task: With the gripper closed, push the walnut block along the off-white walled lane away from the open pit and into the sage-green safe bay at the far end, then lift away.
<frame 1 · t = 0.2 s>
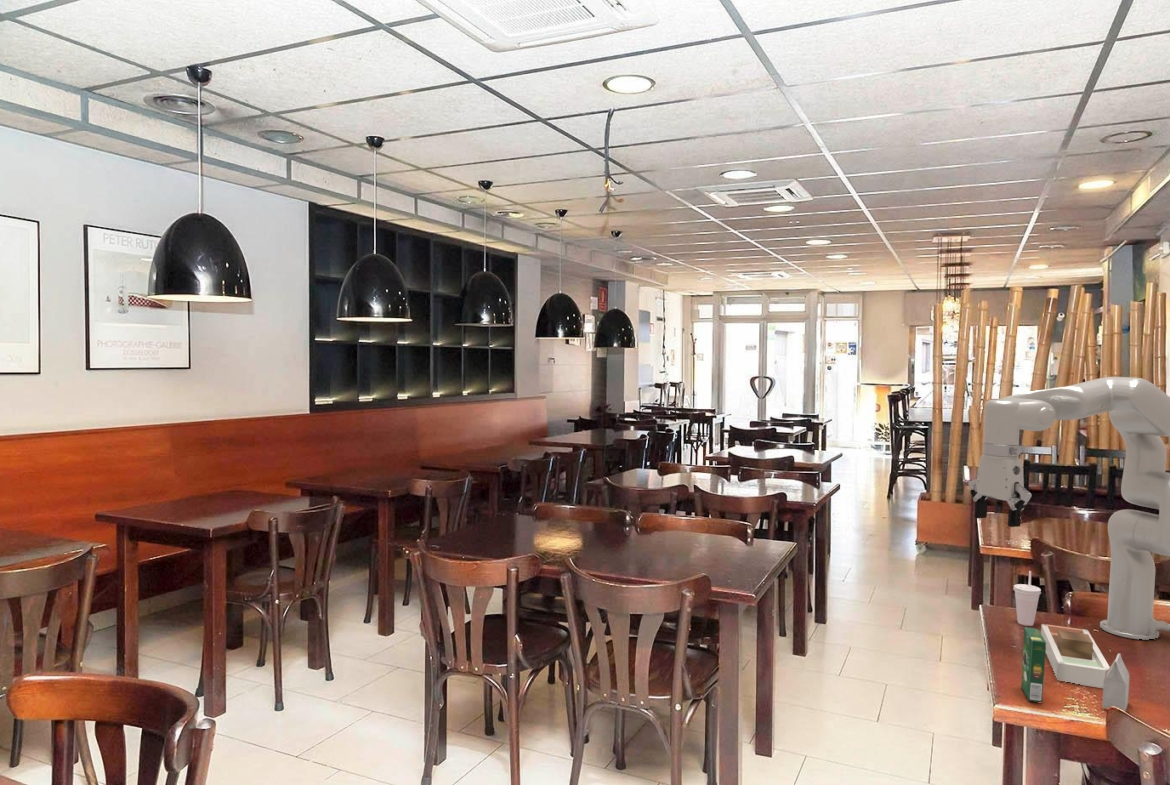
hand: (996, 522, 189), 31 cm above the table, tool pointing down, fingers open, 9 cm apart
smoothie: (1025, 624, 208), on the table
milk carton: (1115, 707, 159), on the table
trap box: (1072, 662, 182), on the table
block: (1074, 653, 181), point 2 cm above the table, touching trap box
coffee box: (1031, 696, 163), on the table
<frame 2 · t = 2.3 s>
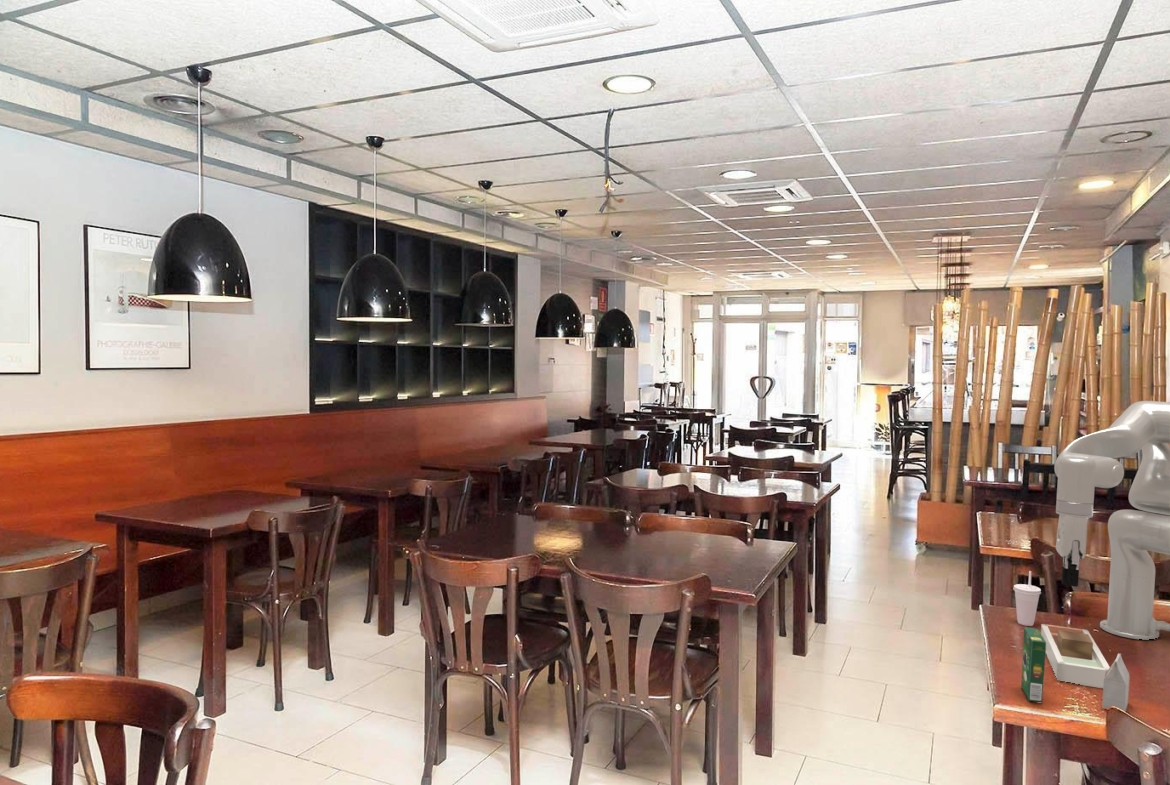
hand: (1069, 584, 188), 16 cm above the table, tool pointing down, fingers closed
nothing on the table moved.
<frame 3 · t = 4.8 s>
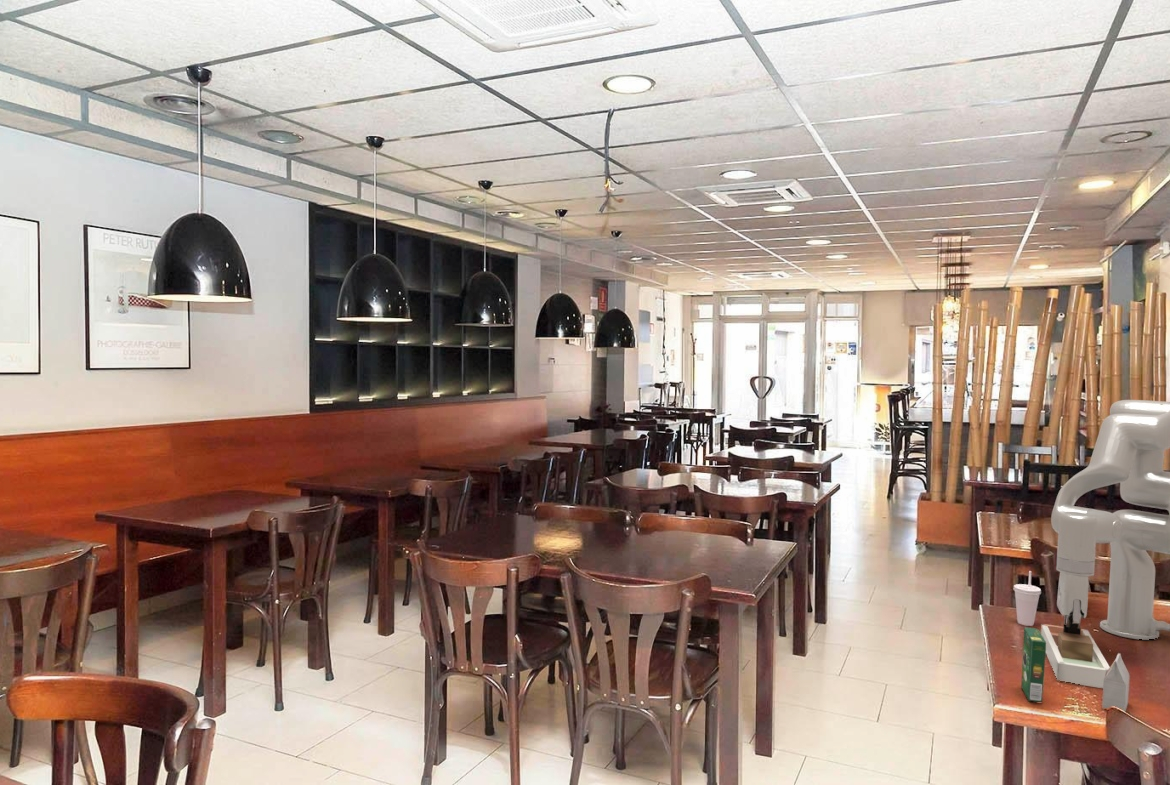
hand: (1071, 642, 184), 4 cm above the table, tool pointing down, fingers closed
block: (1074, 655, 180), point 3 cm above the table, touching gripper
everything else where it was.
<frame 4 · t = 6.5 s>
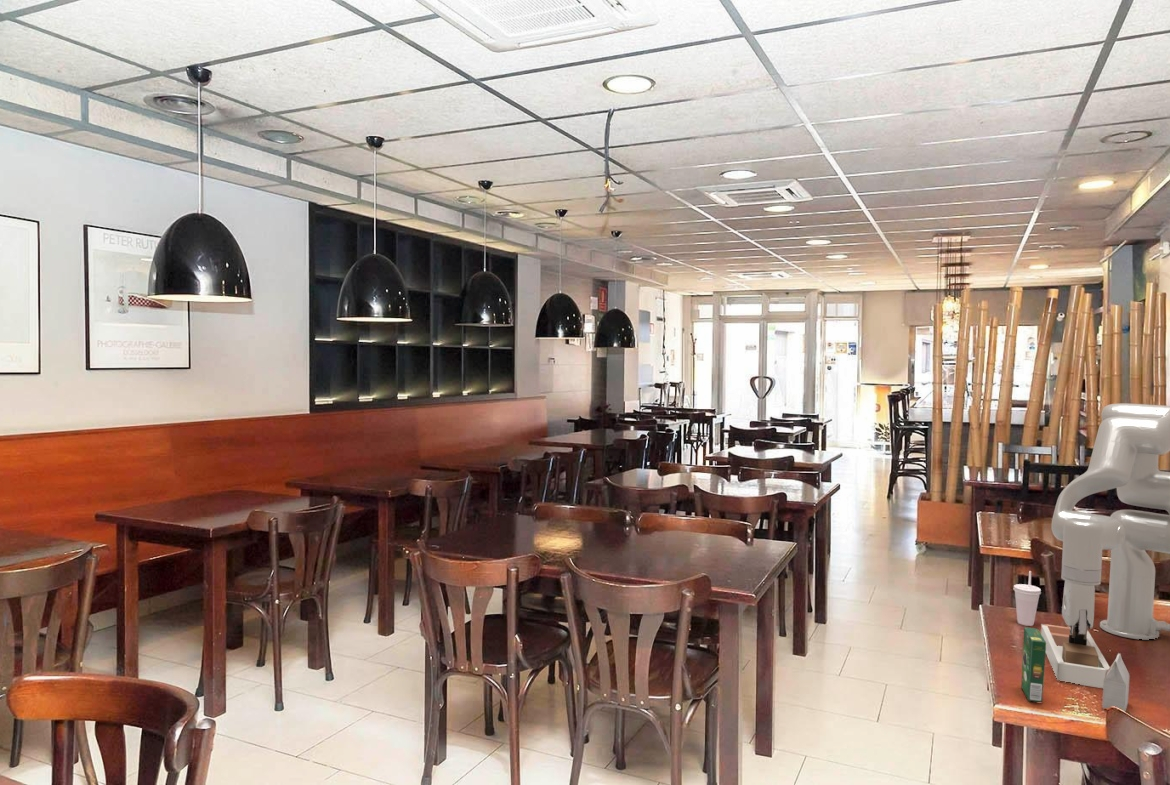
hand: (1077, 654, 177), 4 cm above the table, tool pointing down, fingers closed
block: (1079, 666, 173), point 2 cm above the table, touching gripper, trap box
everything else where it was.
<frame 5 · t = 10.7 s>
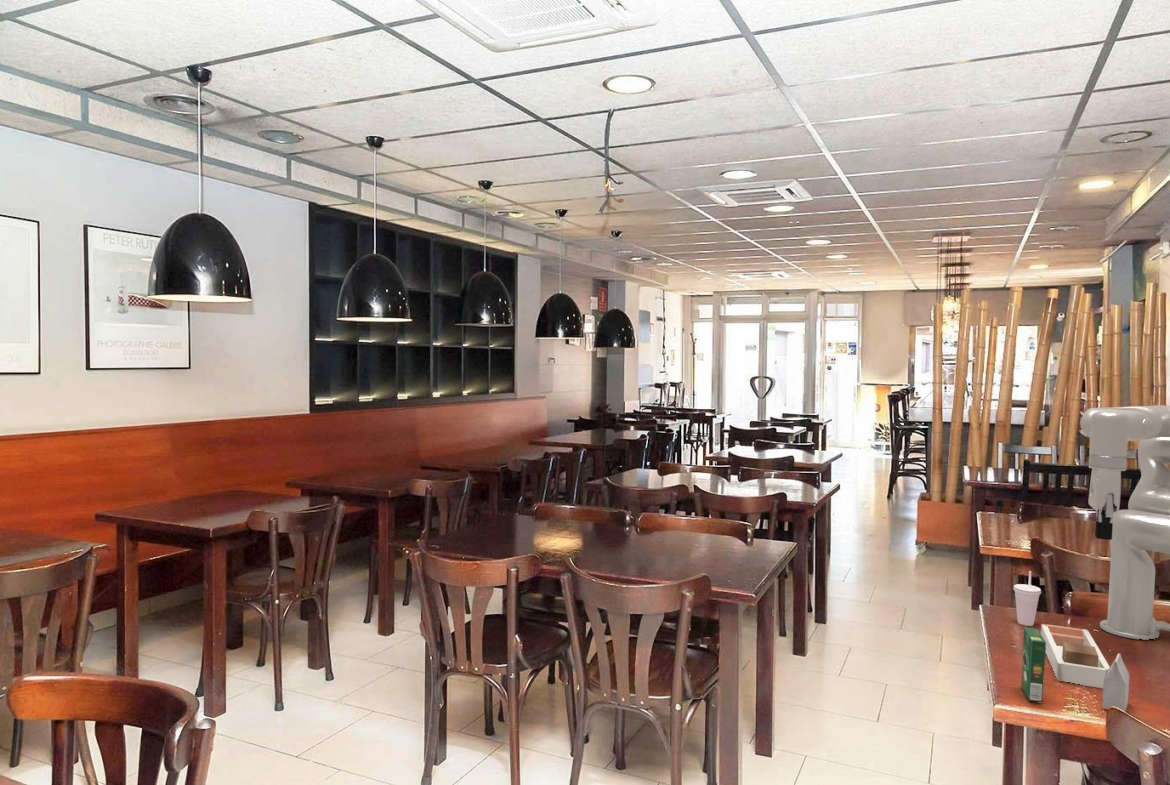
hand: (1103, 538, 189), 27 cm above the table, tool pointing down, fingers closed
block: (1079, 666, 173), point 2 cm above the table, touching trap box
everything else where it was.
at the end: block inside the target area on the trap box (0.5 cm from its centre), point 2.5 cm above the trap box's base; block tilted 0°; the gripper is holding nothing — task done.
